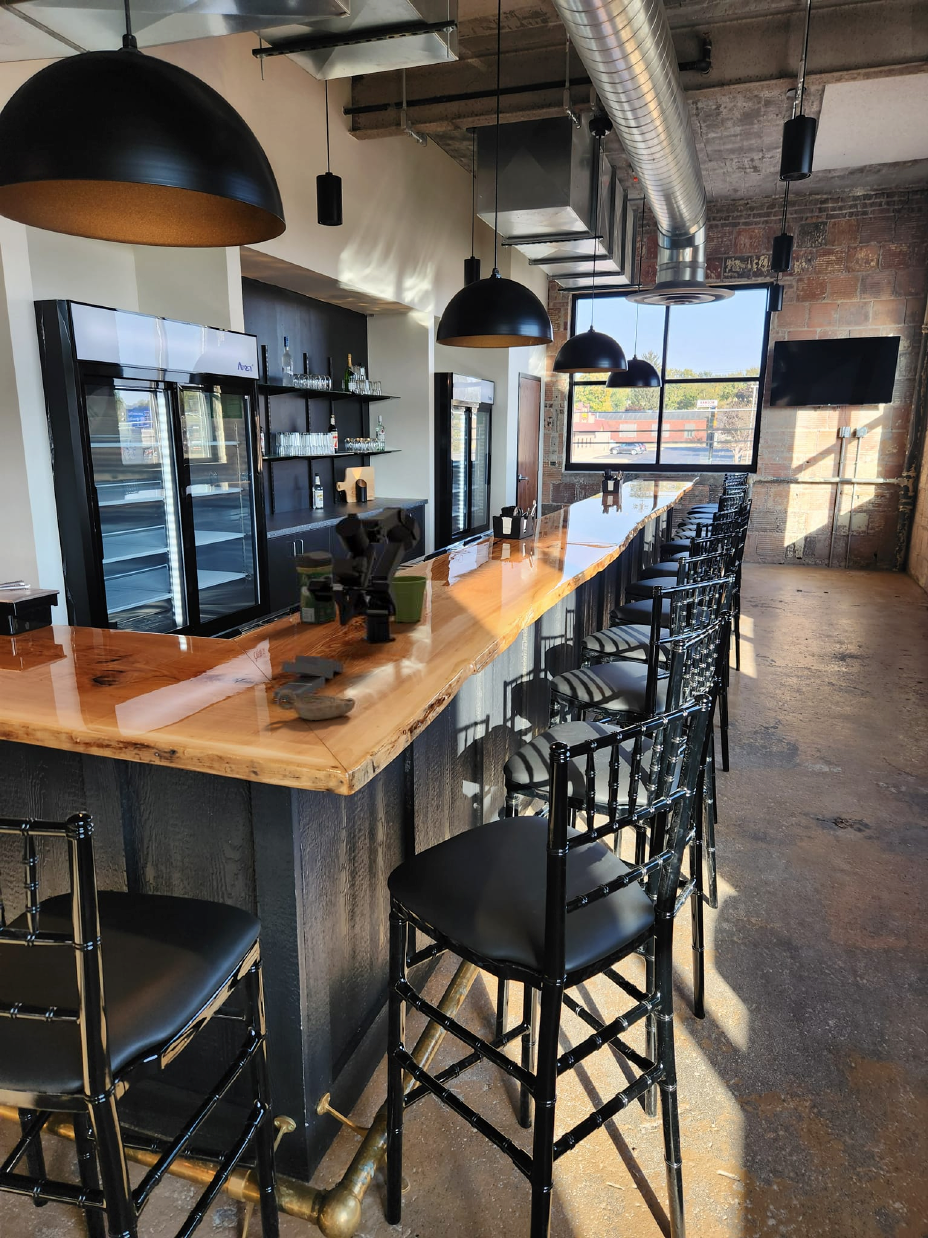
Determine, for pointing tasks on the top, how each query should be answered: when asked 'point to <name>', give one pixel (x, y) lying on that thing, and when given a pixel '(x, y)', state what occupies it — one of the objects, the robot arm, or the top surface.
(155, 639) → the top surface
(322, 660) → the domino
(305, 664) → the domino
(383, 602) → the robot arm
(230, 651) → the top surface
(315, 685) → the domino
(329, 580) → the coffee jar
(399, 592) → the plant pot
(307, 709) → the oil lamp
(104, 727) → the top surface
